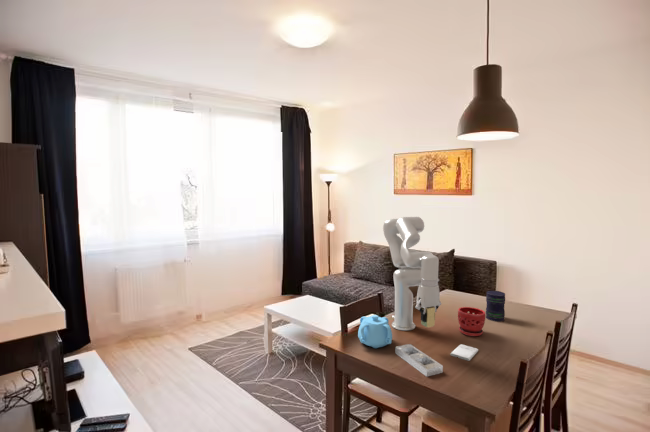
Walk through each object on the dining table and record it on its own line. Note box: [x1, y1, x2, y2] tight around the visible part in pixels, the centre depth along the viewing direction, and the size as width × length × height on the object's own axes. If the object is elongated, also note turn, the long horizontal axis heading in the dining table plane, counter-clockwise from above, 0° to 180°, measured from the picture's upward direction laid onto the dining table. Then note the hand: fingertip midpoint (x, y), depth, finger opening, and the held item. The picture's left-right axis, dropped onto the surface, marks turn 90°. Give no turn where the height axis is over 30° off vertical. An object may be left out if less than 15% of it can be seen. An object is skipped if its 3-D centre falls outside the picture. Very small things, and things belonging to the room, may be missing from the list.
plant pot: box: [457, 306, 486, 337], centre depth 184 cm, size 13×13×12 cm
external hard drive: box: [450, 344, 479, 362], centre depth 162 cm, size 2×8×12 cm
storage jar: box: [485, 290, 506, 323], centre depth 204 cm, size 10×10×15 cm
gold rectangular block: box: [420, 307, 436, 328], centre depth 165 cm, size 4×4×9 cm
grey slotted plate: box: [394, 343, 444, 377], centre depth 154 cm, size 22×8×3 cm, turn 23°
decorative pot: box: [357, 314, 393, 349], centre depth 173 cm, size 16×16×14 cm
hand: (427, 320), depth 165 cm, fingers closed on gold rectangular block, 4 cm apart
